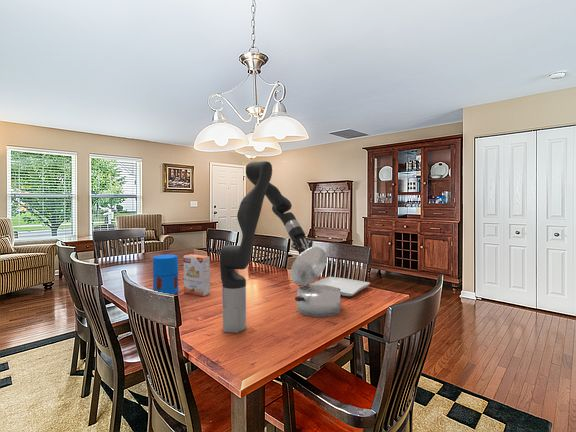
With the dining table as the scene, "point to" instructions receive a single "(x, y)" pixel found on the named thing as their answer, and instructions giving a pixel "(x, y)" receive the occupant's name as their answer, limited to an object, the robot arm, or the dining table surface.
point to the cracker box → (197, 274)
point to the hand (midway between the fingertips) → (310, 258)
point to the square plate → (343, 285)
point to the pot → (318, 300)
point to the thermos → (165, 274)
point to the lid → (308, 266)
